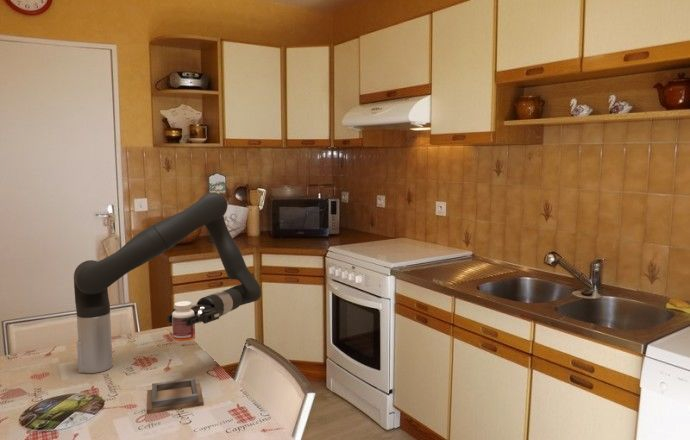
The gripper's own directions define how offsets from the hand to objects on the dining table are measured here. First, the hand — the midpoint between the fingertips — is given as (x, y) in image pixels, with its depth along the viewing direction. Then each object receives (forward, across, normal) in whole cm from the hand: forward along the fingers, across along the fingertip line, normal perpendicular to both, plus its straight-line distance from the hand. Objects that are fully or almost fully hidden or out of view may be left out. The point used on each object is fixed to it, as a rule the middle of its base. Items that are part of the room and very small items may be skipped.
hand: (177, 321), depth 148 cm
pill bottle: (-2, 0, +7) cm, 7 cm away
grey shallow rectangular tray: (+8, +6, +19) cm, 21 cm away
